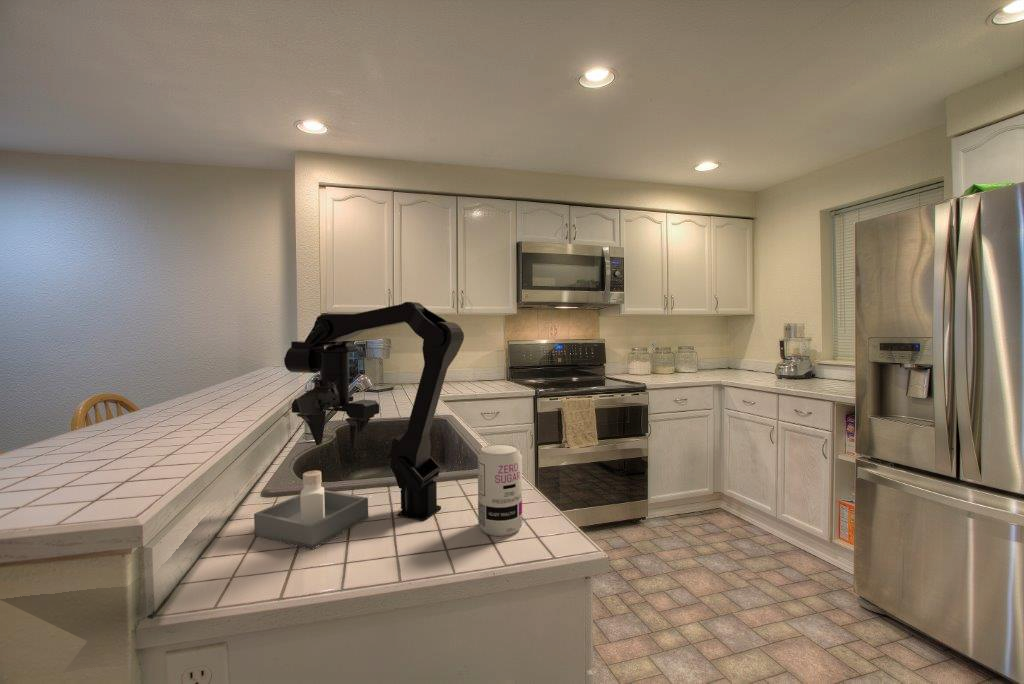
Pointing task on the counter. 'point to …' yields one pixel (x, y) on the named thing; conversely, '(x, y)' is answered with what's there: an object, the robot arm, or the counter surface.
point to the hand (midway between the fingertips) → (335, 446)
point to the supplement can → (500, 489)
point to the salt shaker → (312, 498)
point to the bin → (288, 527)
